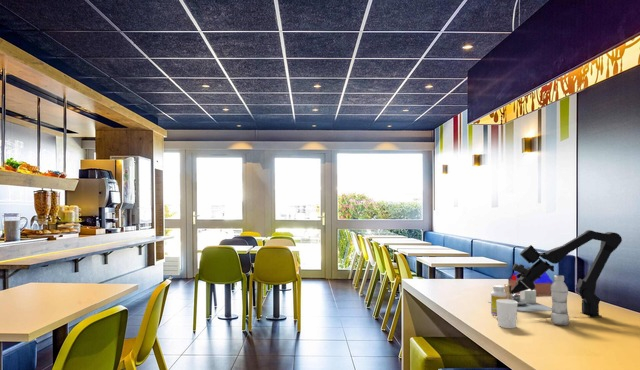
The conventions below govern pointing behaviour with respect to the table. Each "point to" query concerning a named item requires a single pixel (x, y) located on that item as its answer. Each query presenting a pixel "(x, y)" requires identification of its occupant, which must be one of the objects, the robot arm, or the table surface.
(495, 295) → the supplement bottle
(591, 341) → the table surface
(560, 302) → the plastic bottle
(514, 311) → the white cup
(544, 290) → the house
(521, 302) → the crank handle
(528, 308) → the stand
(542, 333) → the table surface
